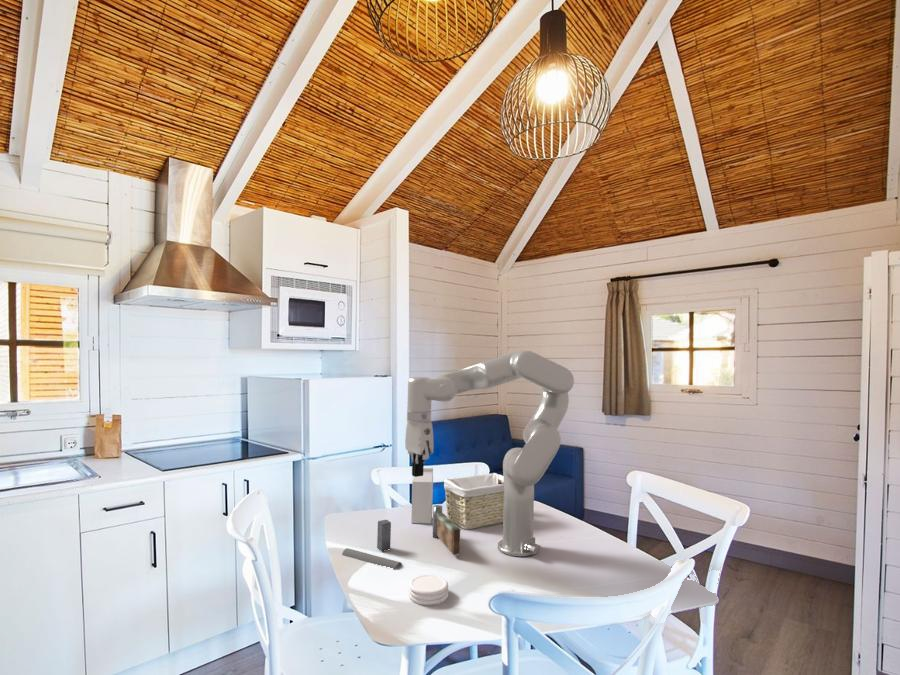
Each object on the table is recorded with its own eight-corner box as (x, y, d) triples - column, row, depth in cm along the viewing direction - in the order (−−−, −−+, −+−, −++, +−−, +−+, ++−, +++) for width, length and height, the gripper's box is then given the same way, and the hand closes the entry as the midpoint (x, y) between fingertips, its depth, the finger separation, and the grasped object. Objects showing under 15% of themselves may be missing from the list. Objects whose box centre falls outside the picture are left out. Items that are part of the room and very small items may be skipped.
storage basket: (462, 532, 172) (463, 489, 172) (441, 517, 186) (442, 478, 186) (519, 522, 183) (520, 481, 184) (494, 509, 197) (495, 471, 198)
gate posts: (443, 537, 167) (444, 507, 167) (381, 551, 153) (382, 519, 154) (438, 534, 169) (439, 504, 169) (377, 548, 156) (378, 516, 156)
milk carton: (431, 524, 179) (432, 470, 179) (411, 523, 179) (412, 470, 179) (432, 517, 186) (433, 466, 186) (413, 516, 186) (414, 465, 186)
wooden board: (436, 535, 165) (436, 513, 165) (442, 534, 165) (442, 512, 166) (453, 554, 150) (454, 530, 150) (459, 553, 150) (460, 529, 151)
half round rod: (350, 552, 154) (350, 546, 154) (403, 566, 145) (403, 560, 145) (340, 557, 150) (341, 551, 150) (394, 572, 141) (394, 565, 141)
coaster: (449, 606, 122) (449, 591, 122) (408, 607, 122) (408, 592, 122) (446, 587, 132) (446, 573, 132) (408, 587, 132) (409, 573, 132)
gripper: (442, 419, 152) (441, 479, 152) (416, 413, 164) (415, 469, 164) (421, 420, 148) (419, 483, 147) (396, 414, 160) (395, 472, 160)
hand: (417, 475), depth 156 cm, fingers closed
